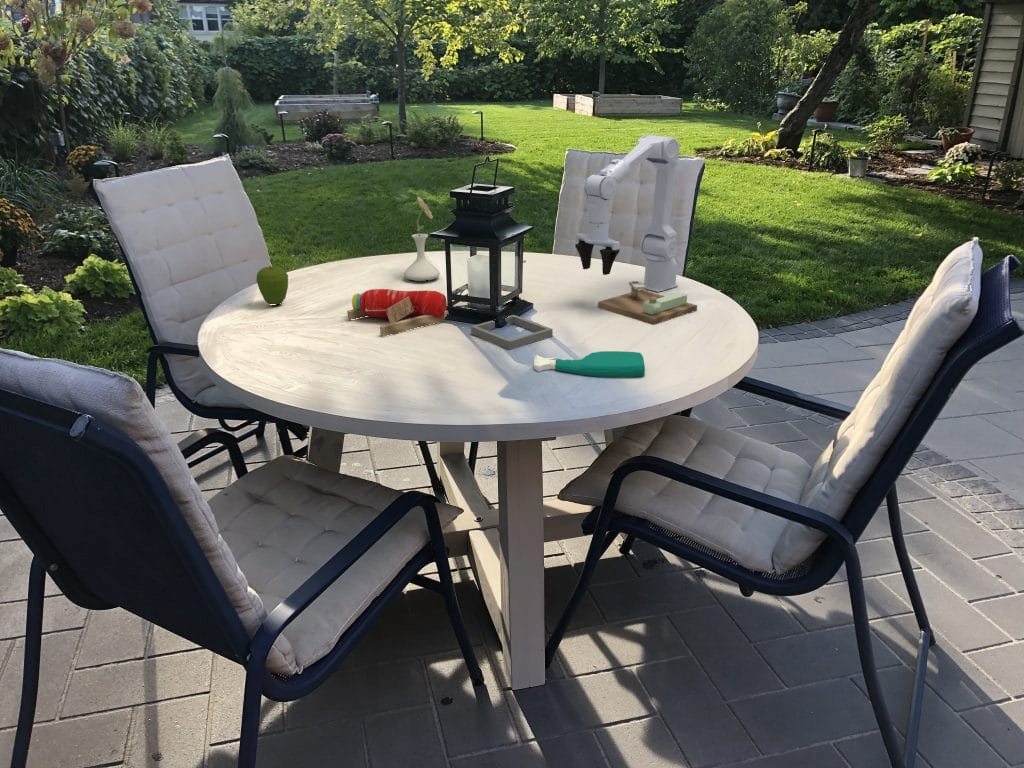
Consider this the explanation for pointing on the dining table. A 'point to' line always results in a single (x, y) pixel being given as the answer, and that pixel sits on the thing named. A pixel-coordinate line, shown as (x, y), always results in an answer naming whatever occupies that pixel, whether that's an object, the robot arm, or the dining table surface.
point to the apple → (273, 284)
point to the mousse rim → (539, 334)
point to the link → (665, 303)
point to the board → (634, 305)
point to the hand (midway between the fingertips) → (596, 271)
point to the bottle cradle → (400, 322)
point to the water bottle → (400, 304)
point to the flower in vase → (421, 254)
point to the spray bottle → (597, 364)
